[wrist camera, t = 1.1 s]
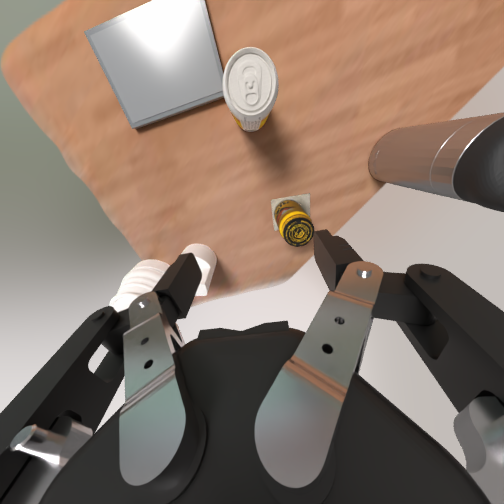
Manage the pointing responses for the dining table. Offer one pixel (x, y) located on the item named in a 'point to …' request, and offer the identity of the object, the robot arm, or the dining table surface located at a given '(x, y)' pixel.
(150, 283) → the honey pot
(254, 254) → the dining table surface
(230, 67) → the beer can
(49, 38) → the dining table surface
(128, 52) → the grey flat slab
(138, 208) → the dining table surface
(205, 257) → the base with upright slab
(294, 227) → the condiment
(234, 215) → the dining table surface
